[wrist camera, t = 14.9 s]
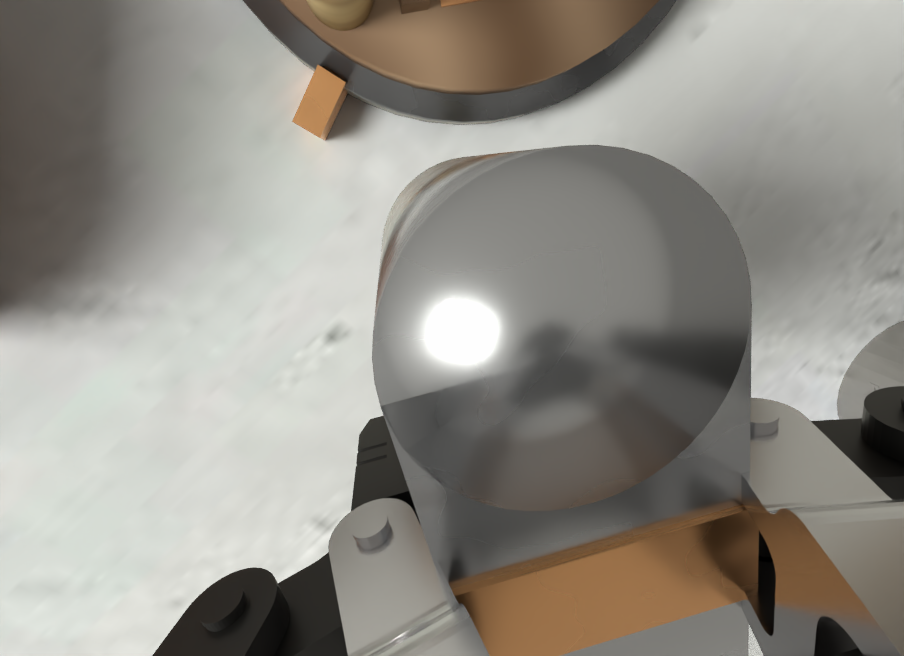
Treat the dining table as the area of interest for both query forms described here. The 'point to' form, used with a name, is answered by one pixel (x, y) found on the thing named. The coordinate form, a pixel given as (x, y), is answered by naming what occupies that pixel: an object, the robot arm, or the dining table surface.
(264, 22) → the round base plate
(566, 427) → the banded metal capsule
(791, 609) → the robot arm
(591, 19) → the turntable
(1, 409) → the dining table surface
